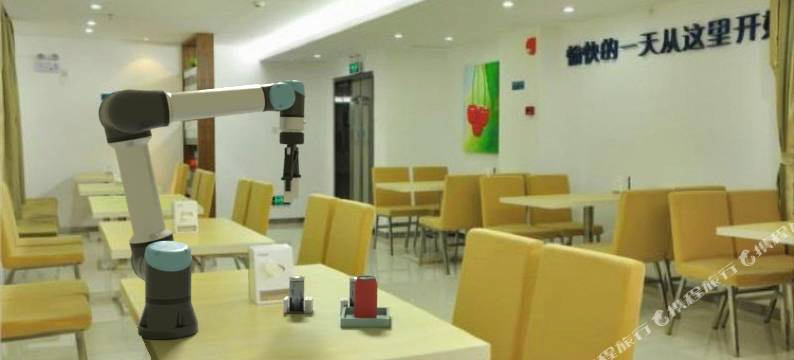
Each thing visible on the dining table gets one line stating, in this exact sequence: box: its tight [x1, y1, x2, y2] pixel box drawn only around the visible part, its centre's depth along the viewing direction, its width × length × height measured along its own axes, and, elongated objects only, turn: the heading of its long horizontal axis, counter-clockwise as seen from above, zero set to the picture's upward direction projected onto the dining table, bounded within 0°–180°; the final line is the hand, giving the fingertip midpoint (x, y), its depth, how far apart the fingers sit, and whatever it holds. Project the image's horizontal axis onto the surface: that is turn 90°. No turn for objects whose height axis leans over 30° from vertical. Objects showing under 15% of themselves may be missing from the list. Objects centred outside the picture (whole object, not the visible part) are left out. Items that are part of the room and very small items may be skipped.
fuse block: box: [283, 275, 359, 315], centre depth 211 cm, size 5×25×10 cm, turn 91°
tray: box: [339, 306, 391, 328], centre depth 202 cm, size 14×14×2 cm
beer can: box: [354, 274, 379, 318], centre depth 202 cm, size 7×7×12 cm
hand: (291, 200), depth 217 cm, fingers open, 13 cm apart
